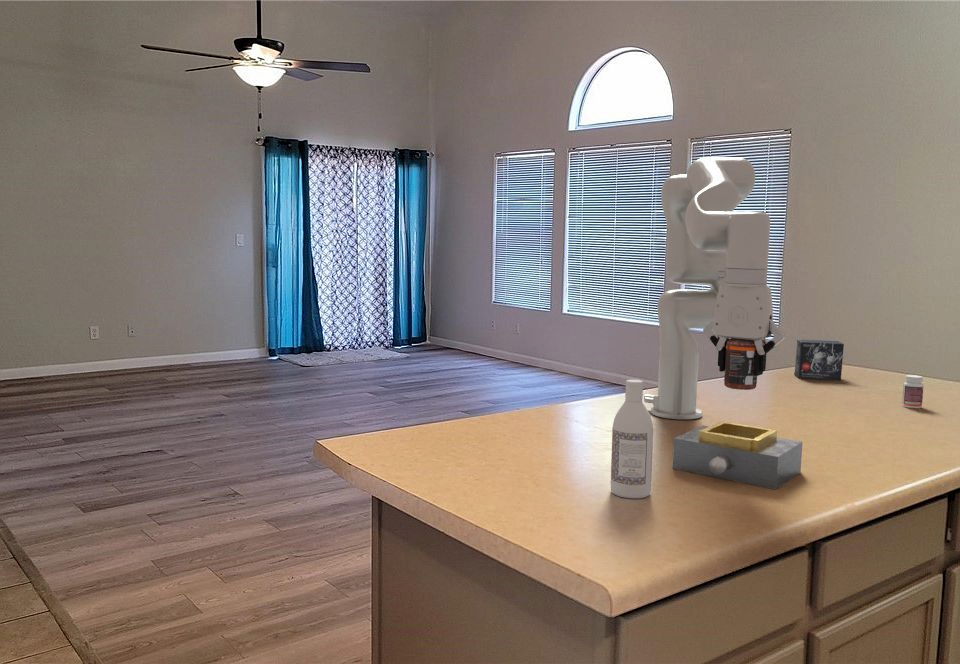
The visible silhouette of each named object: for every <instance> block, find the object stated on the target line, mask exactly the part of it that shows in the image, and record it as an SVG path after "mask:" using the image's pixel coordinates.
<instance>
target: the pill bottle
mask: <svg viewBox="0 0 960 664" xmlns="http://www.w3.org/2000/svg"><path fill="white" fill-rule="evenodd" d="M923 381H924V380H923V376H920V375H913V374H907V375H905V382H904V383H903V386H902V387H903V388H902V398H901V399H902V400H901V401H902V402H901V403H902V404H901V405H902V407H903V408H908V409H921V408H923V397H924V387H925V385H924V384H923Z"/></svg>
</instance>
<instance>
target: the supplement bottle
mask: <svg viewBox="0 0 960 664" xmlns="http://www.w3.org/2000/svg"><path fill="white" fill-rule="evenodd" d="M756 354H757V348H756V345H755V342H754V340H747V339H736V338H731V339H730V340H728V341H727V344H726V357H725V371H724V379H723V385H724V386H725V387H726V388H728V389H731V390H744V391H748V390H749V391H751V390H754V389H756V388H757V384H758V376H755V375H754V358H755V355H756Z"/></svg>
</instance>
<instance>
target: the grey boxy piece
mask: <svg viewBox="0 0 960 664" xmlns="http://www.w3.org/2000/svg"><path fill="white" fill-rule="evenodd" d="M777 435H778V430H775V429H772V428H768V427H767V428H765V427H760V426H753V425H747V424H741V423H735V422H734V423H733V422H725V421H724V422H723V421H718V422H716V423H714V424H712V425H710V426H709V425H708V426H707V425H701V426H698V427H697V428H694V429H691V430H689V431H686V432H685V433H683V434H680V435H678V436H675V437H674V438H673V445H672V446H673V448H672V449H673V450H672V467H671V468H672V469H674V470H679V471H683V472H687V473H694V474H698V475H703V476H708V477H712V478H713V477H714V478H718V479H723V480H729V481H732V482H737V483H742V484H748V485H752V486H757V487H761V488H767V489H771V490H777V489H779V488H781V487H782V486H783V485H784V484H785V485H786V483H787V482H789V481H790V480H792V479H794V477H796V476H797V475H799V474H800V473H801V471H802V458H803V457H802V456H803V455H802V453H803V441H800V440H796V439H795V440H794V439H793V440H792V439H787V438H780V437H778V436H777Z"/></svg>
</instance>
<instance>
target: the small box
mask: <svg viewBox="0 0 960 664" xmlns="http://www.w3.org/2000/svg"><path fill="white" fill-rule="evenodd" d="M844 346H845V345H844V343H843V342H841V341H839V340H822V339H819V340H818V339H801V338H800V339H799V338H798V339H796V351H795V363H794V373H793V375H795V376H796V377H797V378H798V379H802V380H803V379H804V380H806V379H807V380H825V381H826V380H830V381H841V380H842V371H843V370H842V369H843V358H844V349H845V348H844Z"/></svg>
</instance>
